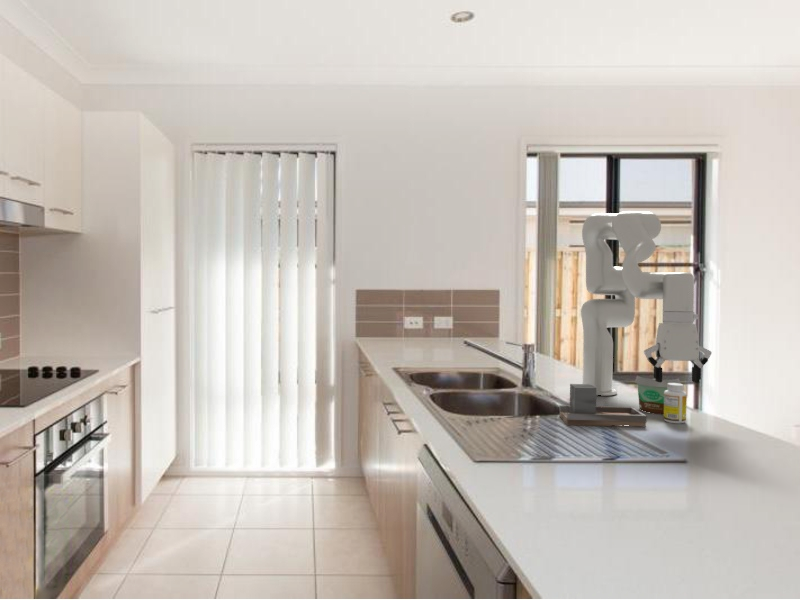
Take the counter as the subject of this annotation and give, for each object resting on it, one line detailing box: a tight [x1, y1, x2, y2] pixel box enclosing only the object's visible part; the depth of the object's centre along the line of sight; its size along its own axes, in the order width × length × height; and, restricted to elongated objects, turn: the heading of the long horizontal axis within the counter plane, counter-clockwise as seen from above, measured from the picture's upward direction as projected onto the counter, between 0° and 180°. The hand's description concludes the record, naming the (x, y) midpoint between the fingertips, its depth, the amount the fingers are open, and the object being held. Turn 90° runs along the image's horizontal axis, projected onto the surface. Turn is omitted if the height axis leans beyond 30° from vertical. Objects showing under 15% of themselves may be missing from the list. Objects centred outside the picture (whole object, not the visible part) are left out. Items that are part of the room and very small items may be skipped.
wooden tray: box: [558, 383, 648, 428], centre depth 161 cm, size 11×20×10 cm, turn 87°
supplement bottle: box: [663, 383, 688, 425], centre depth 162 cm, size 6×6×10 cm
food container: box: [634, 375, 681, 415], centre depth 173 cm, size 12×6×10 cm, turn 62°
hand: (677, 382), depth 161 cm, fingers open, 9 cm apart
